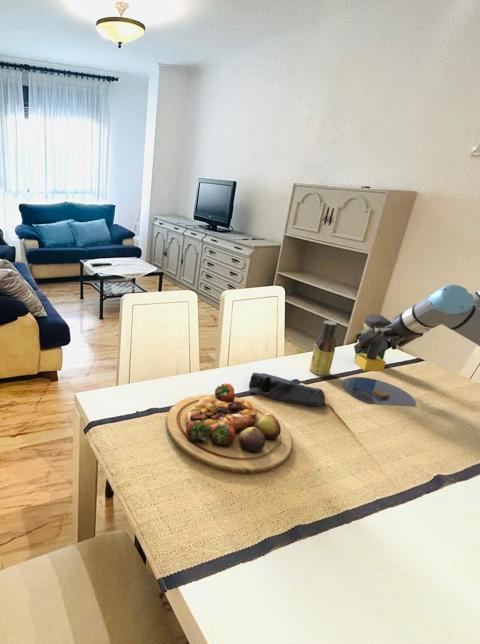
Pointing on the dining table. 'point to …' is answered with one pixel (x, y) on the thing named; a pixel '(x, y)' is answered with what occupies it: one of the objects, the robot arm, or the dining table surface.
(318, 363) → the sauce bottle
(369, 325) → the coffee jar
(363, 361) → the sponge wand
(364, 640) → the dining table surface
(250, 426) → the wooden plate
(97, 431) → the dining table surface
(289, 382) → the dark folded cloth
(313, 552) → the dining table surface
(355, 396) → the plate
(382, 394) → the crust
